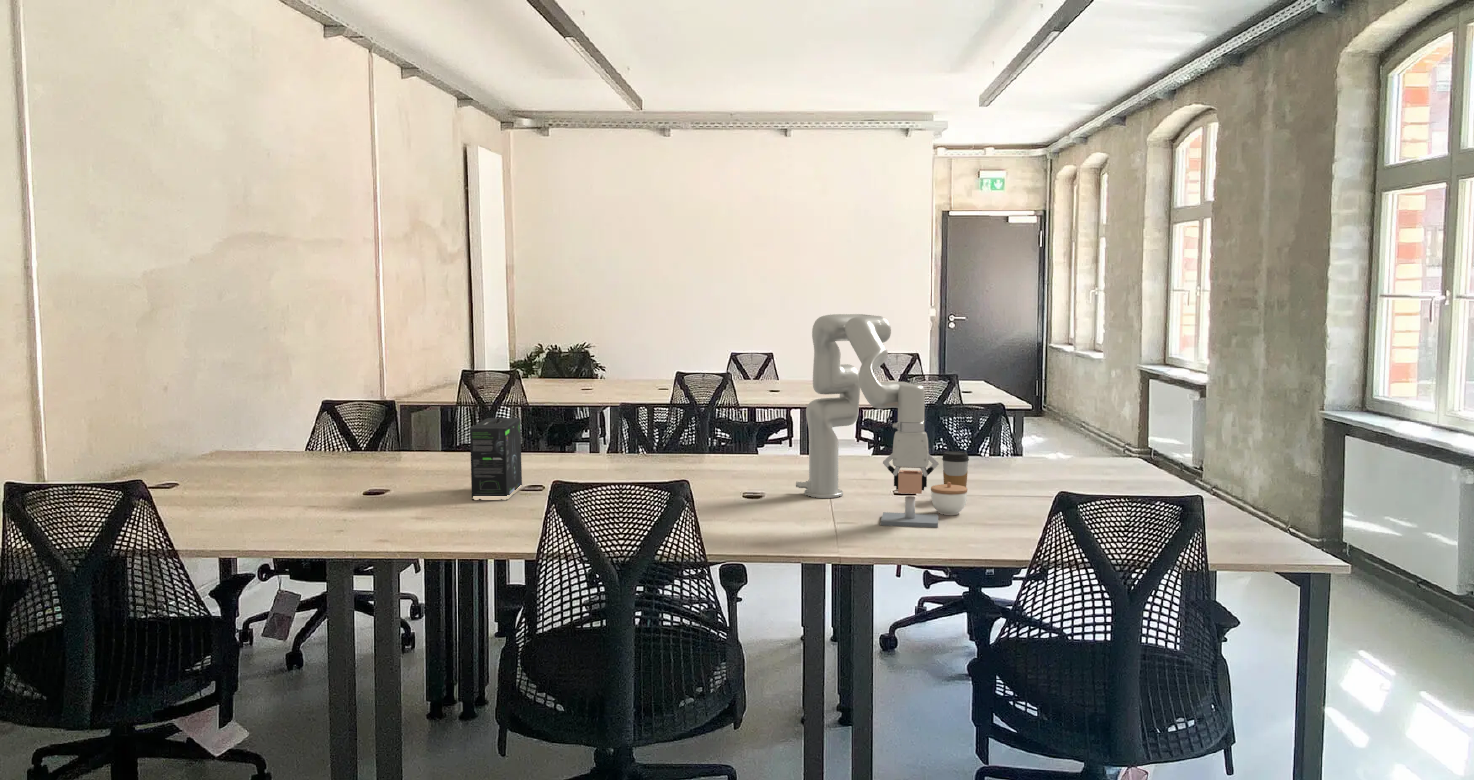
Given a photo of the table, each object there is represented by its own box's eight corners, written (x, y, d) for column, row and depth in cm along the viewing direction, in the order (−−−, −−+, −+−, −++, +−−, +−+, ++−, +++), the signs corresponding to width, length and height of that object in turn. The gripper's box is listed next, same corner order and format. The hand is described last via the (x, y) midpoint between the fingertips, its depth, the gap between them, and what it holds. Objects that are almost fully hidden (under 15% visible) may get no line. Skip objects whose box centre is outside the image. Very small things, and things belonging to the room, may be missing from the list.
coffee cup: (968, 502, 332) (969, 455, 330) (941, 501, 333) (942, 454, 332) (968, 497, 340) (968, 451, 338) (941, 496, 341) (942, 450, 340)
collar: (898, 492, 301) (898, 473, 301) (899, 488, 308) (899, 470, 307) (921, 493, 300) (921, 474, 300) (922, 489, 307) (922, 470, 306)
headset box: (507, 500, 337) (505, 420, 335) (470, 500, 338) (468, 420, 335) (523, 487, 360) (521, 412, 357) (488, 487, 360) (486, 412, 357)
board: (880, 525, 301) (880, 500, 300) (883, 516, 312) (883, 492, 312) (937, 527, 297) (938, 502, 297) (938, 518, 309) (938, 494, 308)
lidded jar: (964, 517, 310) (965, 486, 309) (928, 515, 313) (928, 484, 312) (968, 510, 320) (969, 480, 319) (933, 508, 323) (933, 478, 322)
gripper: (879, 428, 300) (879, 490, 302) (941, 430, 297) (940, 492, 299) (881, 425, 308) (880, 485, 309) (941, 426, 304) (940, 487, 306)
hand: (910, 488), depth 304 cm, fingers closed on collar, 6 cm apart
